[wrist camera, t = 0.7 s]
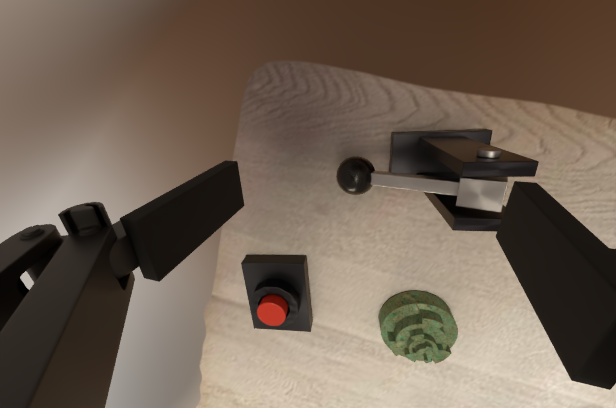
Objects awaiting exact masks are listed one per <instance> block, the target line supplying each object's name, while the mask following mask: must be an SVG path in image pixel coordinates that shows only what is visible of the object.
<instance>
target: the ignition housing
mask: <svg viewBox="0 0 616 408" xmlns="http://www.w3.org/2000/svg"><path fill="white" fill-rule="evenodd" d="M241 264H242V269H243V274H244V279H245V284H246V289H247V294H248V300H249V305H250V310H251V315H252V320H253V325H254V328H257V329H274V330H290V331H307V332H311V327H312V321H313V320H312V309H311V299H310V289H309V278H308V268H307V258H306V256H302V255H246V257H245V258H244V260H243V261H242V263H241ZM270 294H275V295H278V296H281V297H282V298H283V299H285V301H286V302H287V304H288V312H287V315H286V318H285V321H284V322H283V323H282V324H280V325H277V326H271V325H267V324H265V323H263V322H262V321H261V320H260V319H259V317H258V315H257V309H258V307H259V304H260V302H261V300H262V298H263V297H265V296H266V295H270Z"/></svg>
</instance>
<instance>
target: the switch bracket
mask: <svg viewBox="0 0 616 408" xmlns="http://www.w3.org/2000/svg"><path fill="white" fill-rule="evenodd" d="M491 135H492V130H488V129H478V130H446V131H413V132H392V135H391V150H390V166H389V172H393V173H403V174H414V175H424V176H434V177H444V178H454V179H460V177H524V176H535V174H536V170H537V166H538V161H536V160H533V159H530V158H527V157H524V156H521V155H518V154H515V153H512V152H509V151H506V150H503V149H500V148H497V147H494V146H491V145H490V140H491ZM424 193H425V195H426V196H427V197H428V198H429V200H430V201H431V202H432V204H433V205H434V206H435V208H436V209H437V210H438V211H439V213H440V214H441V215H442V217H443V218H444V219H445V220H446V222H447V223H448V224H449V226H450V227H451V228H452V230H462V231H498V229H499V226H500V223H501V220H502V217H503V214H504V211H505V208H506V207H505V206H504V205H503V207H502V211H501V212H494V211H487V210H481V209H474V208H467V207H460V206H456V201H457V196H454V195H446V194H438V193H430V192H424Z"/></svg>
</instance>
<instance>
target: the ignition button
mask: <svg viewBox="0 0 616 408" xmlns="http://www.w3.org/2000/svg"><path fill="white" fill-rule="evenodd" d="M287 312H288V304H287V302H286V301H285V299H283V298H282V297H281V296H278V295H275V294H270V295H266V296H265V297H263V298H262V300H261V302H260V304H259V307H258V309H257V315H258V317H259V319H260V320H261V321H262V322H263V323H265V324H267V325H271V326H277V325H280V324H282V323H283V322H284V321H285V318H286V315H287Z"/></svg>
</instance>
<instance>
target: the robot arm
mask: <svg viewBox="0 0 616 408" xmlns="http://www.w3.org/2000/svg"><path fill="white" fill-rule="evenodd" d="M243 206H244V200H243V194H242V188H241V182H240V176H239V170H238V163H237V161H224V162H222V163H220V164H218V165H216V166H214V167H213V168H211V169H209V170H207V171H205V172H204V173H202V174H200V175H198V176H196V177H194V178H193V179H191V180H189V181H187V182H185V183H183V184H182V185H180V186H178V187H176V188H174V189H172V190H171V191H169V192H167V193H165V194H163V195H161V196H160V197H158V198H156V199H154V200H152V201H151V202H149V203H147V204H145V205H143V206H141V207H140V208H138V209H136V210H134V211H132V212H130V213H129V214H127V215H125V216H123V217H121V218H120V221H118V222H116V223H115V224H113V225H112V224H111V221H110V219H109V217H108V214H107V212H106V210H105V207H104V205H103V204H102V203H100V202H91V203H84V204H80V205H76V206H73V207H71V208H68V209H66V210H64V211H62V212H61V213H60V214H58V215H59V217H60V219H61V221H62V223H63V225H64V227H65V229H66V230H67V232H68V234H69V235H66V236H61V235H60V233H59V232H58V230H57V228H56V226H54V225H52V224H46V225H36V226H33V227H28V228H26V229H24V230H23V231H20V232H19V233H17V234H15V235H13V236H11V237H10V238H8V239H7V240H5V241H4V242H2V243H1V244H0V408H105V404H106V400H107V396H108V392H109V387H110V383H111V379H112V375H113V370H114V366H115V362H116V357H117V353H118V349H119V345H120V340H121V336H122V332H123V328H124V323H125V319H126V315H127V311H128V306H129V302H130V297H131V294H132V289H133V285H134V281H135V278H134V274H133V272H132V271H133V270H135V269H136V268H137V267H140V269H141V272H142V274H143V276H144V278H146V279H151V280H155V281H161V280H162V279H163V278H164V277H165V276H166V275H167V274H168V273H169V272H170V271H172V270H173V269H174V268H175V267H176V266H177V265H178V264H180V263H181V262H182V261H183V260H184V259H185V258H186V257H187V256H188V255H190V254H191V253H192V252H193V251H194V250H195V249H196V248H197V247H198V246H200V245H201V244H202V243H203V242H204V241H205V240H206V239H207V238H209V237H210V236H211V235H212V234H213V233H214V232H215V231H216V230H217V229H219V228H220V227H221V226H222V225H223V224H224V223H225V222H226V221H228V220H229V219H230V218H231V217H232V216H233V215H234V214H235V213H237V212H238V211H239V210H240V209H241V208H242V207H243ZM496 238H497V240H498V242H499V244H500V246H501V248H502V250H503V251H504V253H505V255H506V257H507V259H508V261H509V263H510V265H511V267H512V268H513V270H514V272H515V274H516V276H517V278H518V280H519V282H520V284H521V286H522V287H523V289H524V291H525V293H526V295H527V297H528V299H529V301H530V303H531V304H532V306H533V308H534V310H535V312H536V314H537V316H538V318H539V320H540V322H541V323H542V325H543V327H544V329H545V331H546V333H547V335H548V337H549V339H550V340H551V342H552V344H553V346H554V348H555V350H556V352H557V354H558V356H559V357H560V359H561V361H562V363H563V365H564V367H565V369H566V371H567V373H568V375H569V376H570V378H571V380H572V381H576V382H580V383H584V384H588V385H593V386H597V387H601V388H605V389H609V390H610V389H611V388H612V387H613V386H614V385H615V383H616V249H610V248H608V247H607V246H606V245H605V244H604V243H603V242H601V241H600V240H599V239H598V238H597V237H596V236H595V235H594V234H593V233H592V232H590V231H589V230H588V229H587V228H586V227H585V226H584V225H583V224H582V223H580V222H579V221H578V220H577V219H576V218H575V217H574V216H573V215H572V214H571V213H569V212H568V211H567V210H566V209H565V208H564V207H563V206H562V205H561V204H559V203H558V202H557V201H556V200H555V199H554V198H553V197H552V196H551V195H549V194H548V193H547V192H546V191H545V190H544V189H543V188H542V187H541V186H540V185H538V184H537V183H531V182H517V181H515V182H514V185H513V188H512V190H511V193H510V196H509V199H508V202H507V205H506V208H505V211H504V214H503V217H502V220H501V223H500V226H499V229H498V231H497V234H496ZM25 271H27V272H28V274H29V275H30V277H31V278H32V280H33V281H34V285H33V286H32V288H31V289H30V290H29V289H27V288H26V286H25V285H24V283H23V282H22V281H21V279H20V276H21V275H22V274H23V273H24V272H25Z"/></svg>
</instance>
